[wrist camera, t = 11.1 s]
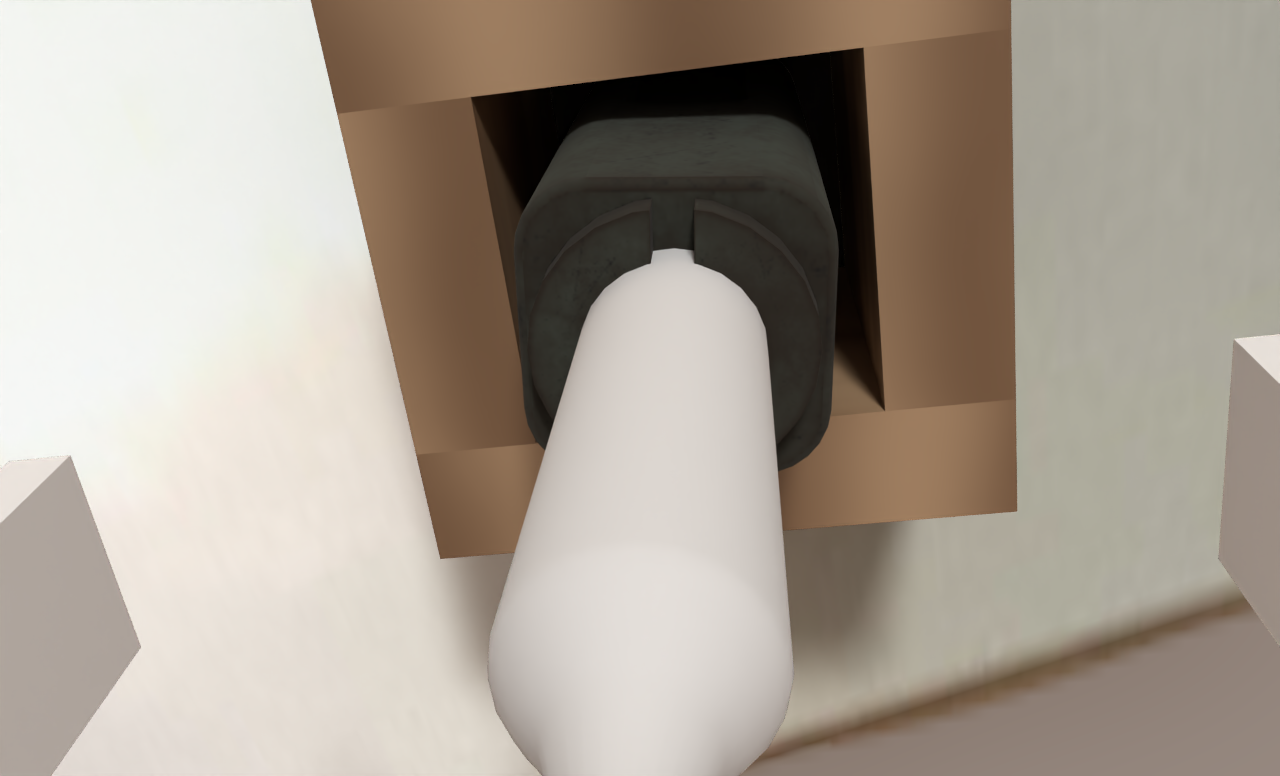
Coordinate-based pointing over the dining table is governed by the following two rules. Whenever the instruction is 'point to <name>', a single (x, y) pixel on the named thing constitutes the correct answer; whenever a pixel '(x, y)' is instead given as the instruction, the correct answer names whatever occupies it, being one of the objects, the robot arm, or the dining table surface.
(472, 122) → the well block
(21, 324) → the dining table surface
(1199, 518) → the dining table surface
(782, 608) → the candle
